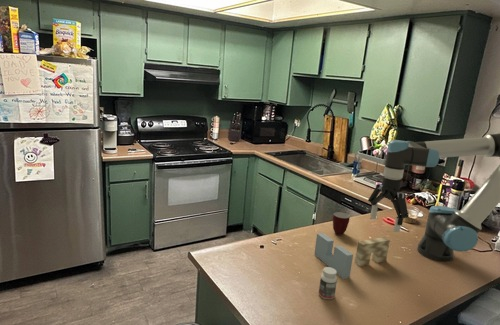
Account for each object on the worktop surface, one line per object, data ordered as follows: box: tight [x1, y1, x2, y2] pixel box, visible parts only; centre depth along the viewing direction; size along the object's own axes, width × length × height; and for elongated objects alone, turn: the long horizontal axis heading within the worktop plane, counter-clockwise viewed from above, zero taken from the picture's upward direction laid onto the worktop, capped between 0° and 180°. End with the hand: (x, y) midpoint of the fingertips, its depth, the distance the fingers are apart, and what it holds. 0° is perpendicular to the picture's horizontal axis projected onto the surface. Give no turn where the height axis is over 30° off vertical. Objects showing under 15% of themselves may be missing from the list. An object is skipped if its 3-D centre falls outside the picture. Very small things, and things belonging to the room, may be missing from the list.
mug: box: [332, 211, 351, 236], centre depth 175 cm, size 11×8×10 cm
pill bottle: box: [318, 266, 338, 300], centre depth 124 cm, size 6×6×10 cm
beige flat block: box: [354, 237, 391, 267], centre depth 150 cm, size 15×3×10 cm, turn 114°
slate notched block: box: [313, 232, 354, 280], centre depth 144 cm, size 20×3×10 cm, turn 24°
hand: (384, 224), depth 149 cm, fingers open, 13 cm apart
